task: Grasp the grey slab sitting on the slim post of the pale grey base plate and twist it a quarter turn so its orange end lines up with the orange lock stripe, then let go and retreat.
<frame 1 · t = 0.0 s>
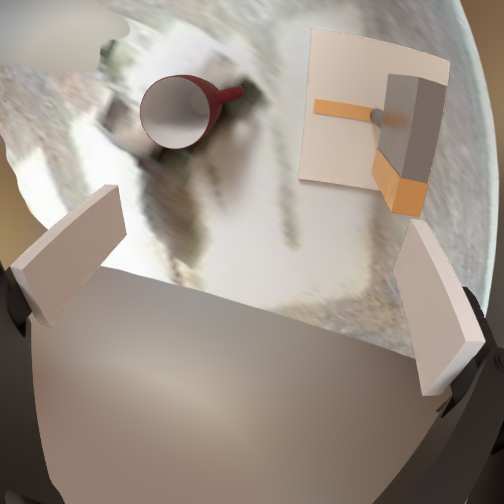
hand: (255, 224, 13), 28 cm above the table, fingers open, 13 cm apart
grey slab: (404, 136, 23), point 13 cm above the table, hinge at 0.0°
mug: (212, 97, 36), on the table
post base: (375, 114, 33), on the table
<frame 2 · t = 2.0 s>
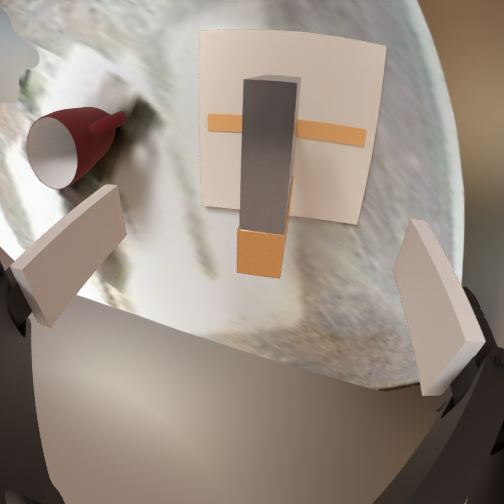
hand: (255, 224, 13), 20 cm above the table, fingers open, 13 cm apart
grey slab: (273, 162, 19), point 13 cm above the table, hinge at 0.0°
mug: (111, 122, 32), on the table
post base: (286, 124, 29), on the table
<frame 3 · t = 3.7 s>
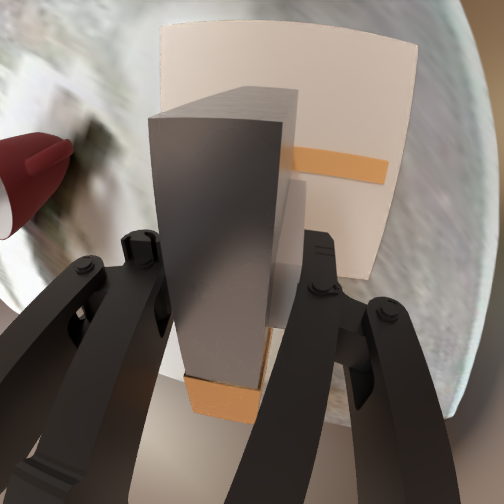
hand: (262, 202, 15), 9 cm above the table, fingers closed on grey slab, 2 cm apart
grey slab: (248, 245, 12), point 13 cm above the table, hinge at 0.0°, touching gripper
mug: (65, 148, 25), on the table
post base: (279, 152, 22), on the table
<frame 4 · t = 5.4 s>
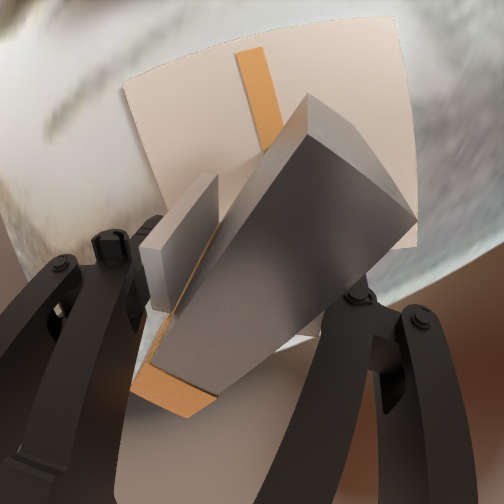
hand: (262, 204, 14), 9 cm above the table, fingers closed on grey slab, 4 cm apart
grey slab: (247, 250, 11), point 13 cm above the table, hinge at 44.3°, touching gripper
post base: (279, 153, 22), on the table
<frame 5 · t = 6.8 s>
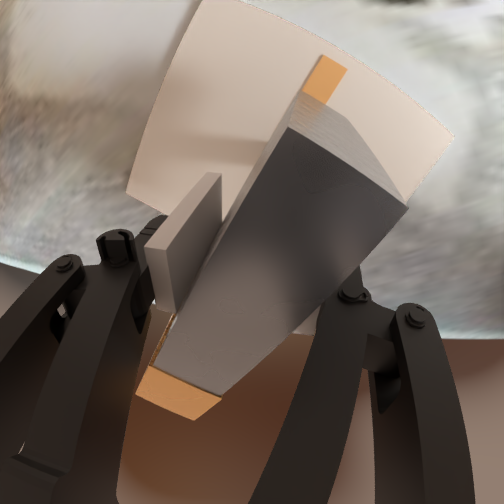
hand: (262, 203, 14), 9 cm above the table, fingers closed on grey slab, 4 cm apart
grey slab: (246, 249, 11), point 13 cm above the table, hinge at 89.2°, touching gripper
post base: (278, 152, 22), on the table
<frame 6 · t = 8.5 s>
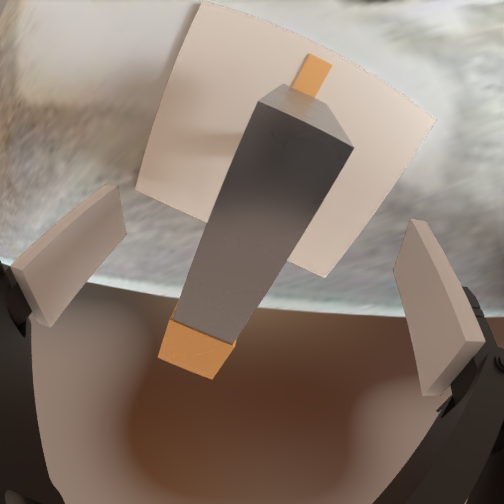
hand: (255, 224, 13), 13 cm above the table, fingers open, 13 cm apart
grey slab: (248, 219, 13), point 13 cm above the table, hinge at 91.6°
post base: (275, 144, 23), on the table
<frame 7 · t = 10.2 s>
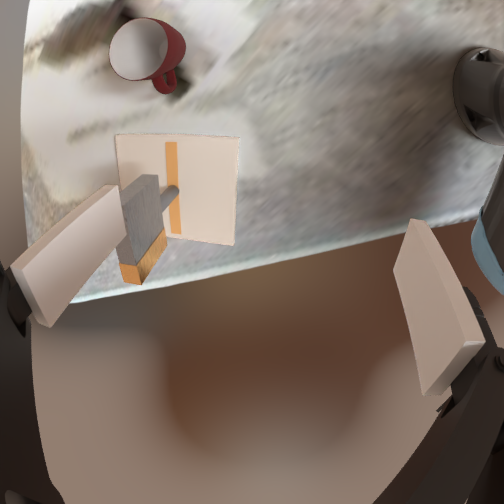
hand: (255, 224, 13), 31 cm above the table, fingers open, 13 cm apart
grey slab: (140, 227, 37), point 13 cm above the table, hinge at 91.6°
mug: (174, 56, 35), on the table
post base: (175, 187, 47), on the table
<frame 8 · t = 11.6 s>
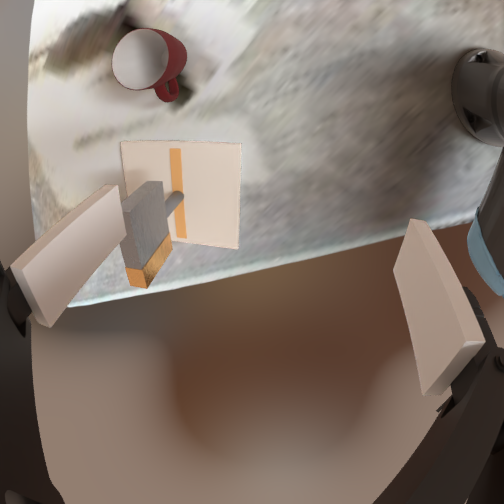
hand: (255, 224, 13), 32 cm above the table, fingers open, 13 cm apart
grey slab: (145, 232, 38), point 13 cm above the table, hinge at 91.6°
mug: (176, 65, 37), on the table
post base: (180, 193, 49), on the table
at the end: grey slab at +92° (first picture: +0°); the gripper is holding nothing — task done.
